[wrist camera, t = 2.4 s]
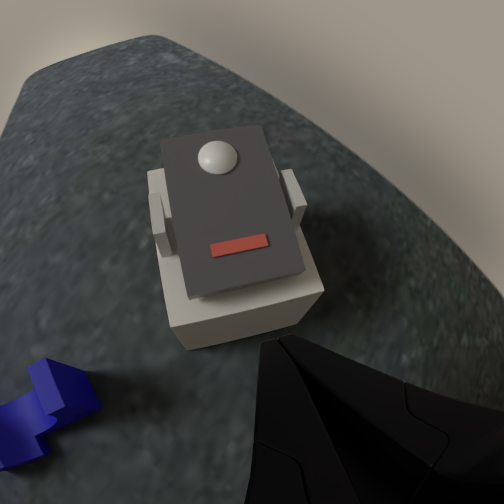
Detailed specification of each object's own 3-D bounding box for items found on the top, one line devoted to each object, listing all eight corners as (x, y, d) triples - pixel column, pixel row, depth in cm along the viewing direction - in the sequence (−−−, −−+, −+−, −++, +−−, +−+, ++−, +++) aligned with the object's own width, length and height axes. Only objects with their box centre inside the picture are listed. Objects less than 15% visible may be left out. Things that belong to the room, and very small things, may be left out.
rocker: (298, 274, 16) (306, 269, 15) (189, 299, 15) (187, 296, 14) (257, 136, 18) (261, 123, 17) (162, 152, 17) (159, 138, 16)
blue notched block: (6, 470, 14) (-40, 475, 9) (-15, 421, 16) (-62, 415, 11) (113, 426, 18) (77, 431, 13) (85, 371, 20) (45, 357, 14)
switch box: (296, 324, 23) (339, 271, 14) (186, 350, 21) (161, 313, 13) (258, 209, 27) (273, 123, 18) (163, 228, 25) (140, 144, 17)
